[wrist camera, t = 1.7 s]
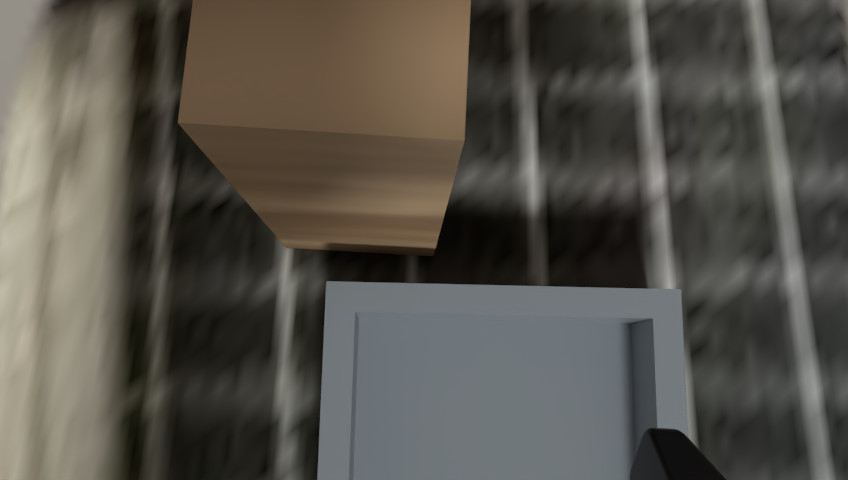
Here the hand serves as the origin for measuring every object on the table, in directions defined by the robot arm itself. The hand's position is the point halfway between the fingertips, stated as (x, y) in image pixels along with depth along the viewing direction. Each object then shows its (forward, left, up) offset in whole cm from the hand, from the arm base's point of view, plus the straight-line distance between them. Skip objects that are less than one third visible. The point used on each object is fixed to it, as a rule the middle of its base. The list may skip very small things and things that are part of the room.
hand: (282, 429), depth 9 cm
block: (+7, 0, -13) cm, 14 cm away
